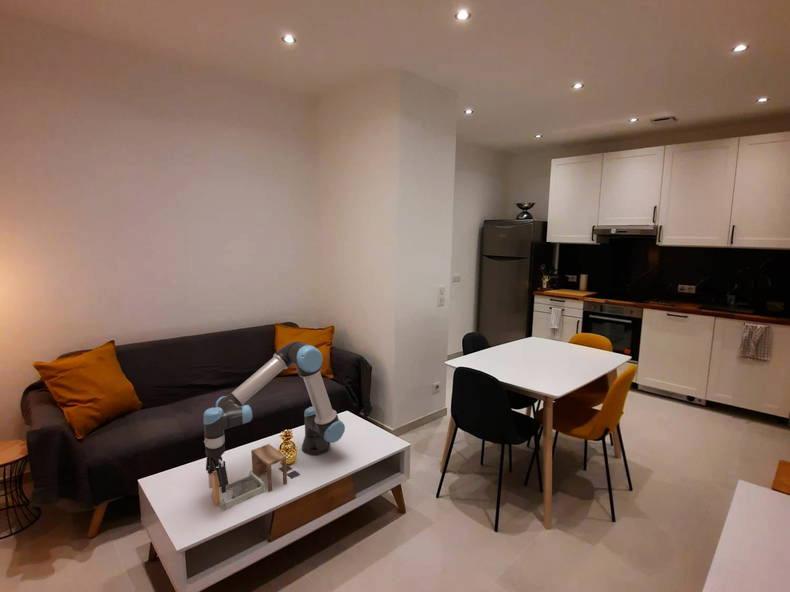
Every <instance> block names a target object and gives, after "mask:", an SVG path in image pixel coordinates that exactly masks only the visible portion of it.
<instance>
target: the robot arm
mask: <svg viewBox="0 0 790 592" xmlns="http://www.w3.org/2000/svg"><path fill="white" fill-rule="evenodd" d="M323 359H324V358H323V355H322V353H321V351H320V350H319V349H318V348H317V347H316V346H313V345H310V344H307V343H304V342H303V341H299V340H295V341H291V342H289V343H287V344H285V345H284V346H282V347H281V348H280V349H278V350H277V351H276V352H274V354H273V356H272V358H271V359H269V360H268V361H267V362H266V363H264V365H263V366H261V367H260V368H259V369H258V370H256V372H254V373H253V374H252V375H251V376H250V377H249V378H247V379H246V380H245V381H243V382H242V383H241V384H240V385H239V386H237V387H236V388H235V389H234V390H233V391H232V392H231V393H229V394H228V395H225V396H224V395H223V396H221V397H219V398H218V399H217V400H216V402H215V407H209V408H208V409H206V410H205V411H204V412H203V429H204V430H203V432H204V440H203V443H204V446H205V456H206V460H205V461H206V463H205V470H206V471H207V475H208V488H209V490H210V489H212V477H211V473H213V472H215V471H216V472H217V476H218V480H219V484H220V485H219V486H218V487H219V497H220V501H221V500H223V499H224V500H225V499H227V498H228V497H227V496H228V495H227V491H226V485H228V484H229V480H228V479H229V478H228V473H227V467H226V461H225V460H223V457H222V455H224V453H225V452H226V446H225V441H226V440H225V430H226V429H230V428H232V427H236V426H241V425H244V424H246V423H250V422H251V421H252V420H253V410H252V408H251V406H250V405H249V404H245V403H246V402H247V401H248V400H249V399H251V398H252V397H253V396H254V395H255V394H256V393H258V392H259V391H260V390H261V389H262V388H263V387H265V385H267V384H268V383H269V382H270V381H271V380H272V379H274V378H275V377H276V376H278V374H279V373H281V372H282V371H283V370H287V369H288V368H290V367H291V366H295V369H296V372H297V375H298V376H299V377H300V378H302V379H303V381H304V384H305V387H306V390H307V394H308V396H309V399H310V402H311V405H312V406H309V407H308V408H306V409H305V410H304V414H303V417H304V437H303V442H302V444H301V449H302V451H301V452H303V453H304V454H306V455H309V456H317V455H323V454H325V453H327V452H328V451H329V450H330V449H331V444H333V443H336V442H338V441H339V440H341V439H342V437H343V435H344V433H345V429H346V426H345V423H343V421H342V420H340V419H339V415H338V413H337V411H336V410H335V409H333V407H332V404H331V401H330V397H329V396H328V393H327V389H326V387H325V383H324V379H323V377H322V374H321V370H322V368H323V366H322V363H323Z"/></svg>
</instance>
